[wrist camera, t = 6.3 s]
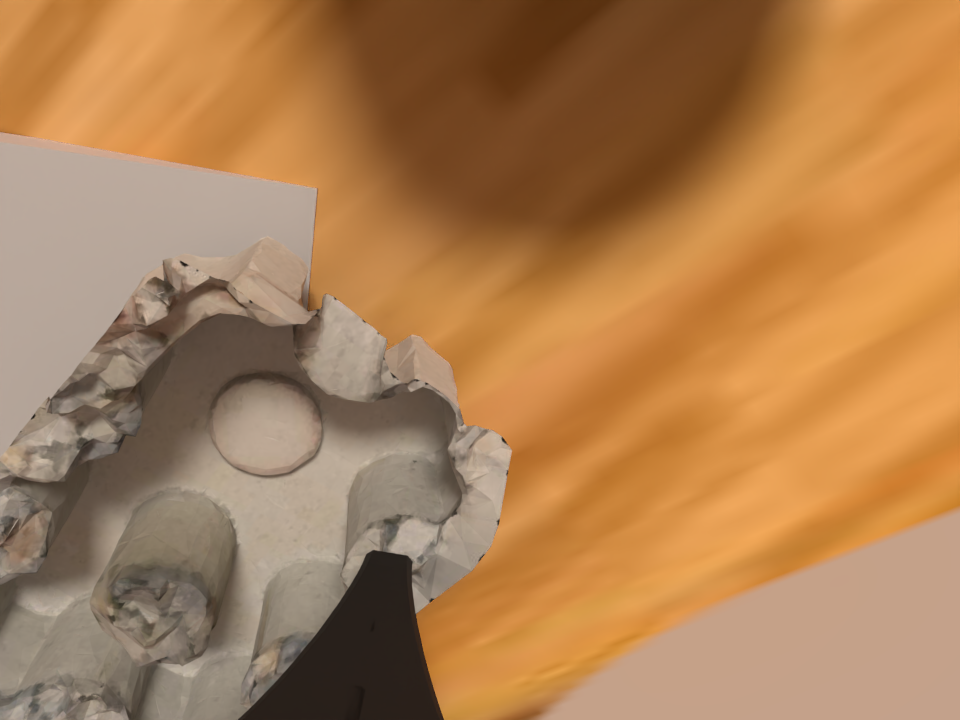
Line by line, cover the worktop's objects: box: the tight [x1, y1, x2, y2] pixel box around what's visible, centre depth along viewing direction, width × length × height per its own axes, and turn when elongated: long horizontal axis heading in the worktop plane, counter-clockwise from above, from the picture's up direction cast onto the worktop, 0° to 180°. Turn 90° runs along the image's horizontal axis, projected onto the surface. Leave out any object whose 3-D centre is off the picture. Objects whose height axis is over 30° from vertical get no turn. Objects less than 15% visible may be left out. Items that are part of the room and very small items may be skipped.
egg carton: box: [0, 236, 512, 720], centre depth 14 cm, size 11×8×4 cm
